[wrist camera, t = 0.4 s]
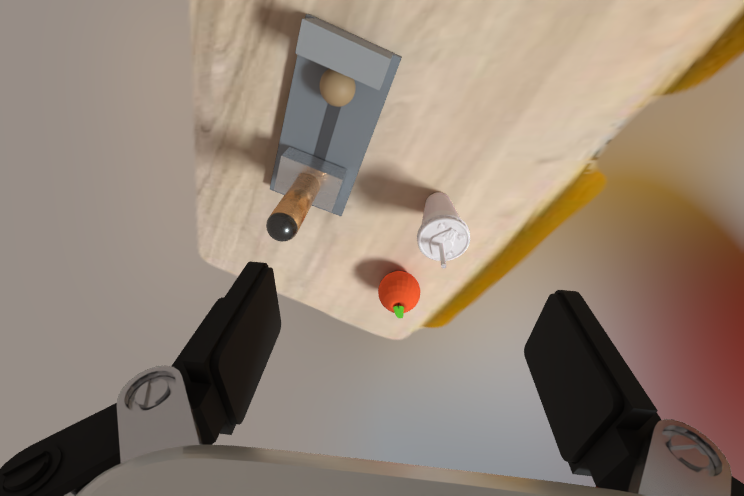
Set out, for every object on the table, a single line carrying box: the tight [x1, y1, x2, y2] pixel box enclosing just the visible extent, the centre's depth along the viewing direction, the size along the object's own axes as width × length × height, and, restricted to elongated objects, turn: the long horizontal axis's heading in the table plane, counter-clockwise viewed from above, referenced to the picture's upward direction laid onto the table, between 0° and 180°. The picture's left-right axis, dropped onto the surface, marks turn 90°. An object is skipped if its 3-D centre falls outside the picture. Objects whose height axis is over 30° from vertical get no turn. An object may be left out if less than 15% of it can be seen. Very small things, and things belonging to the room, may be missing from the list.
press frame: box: [270, 14, 402, 216], centre depth 40 cm, size 22×11×6 cm, turn 159°
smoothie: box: [417, 192, 470, 268], centre depth 42 cm, size 6×6×14 cm
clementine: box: [378, 271, 420, 318], centre depth 54 cm, size 8×7×7 cm
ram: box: [266, 147, 347, 241], centre depth 38 cm, size 5×8×15 cm, turn 69°
